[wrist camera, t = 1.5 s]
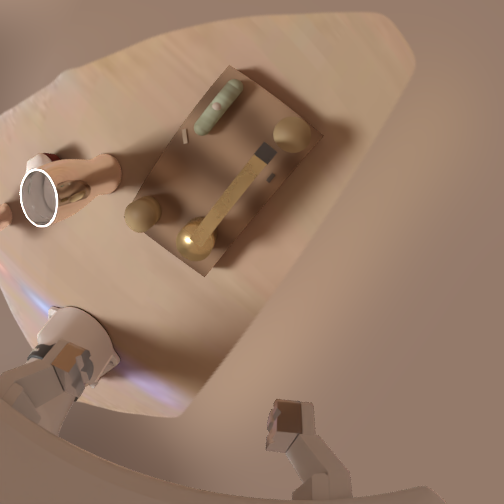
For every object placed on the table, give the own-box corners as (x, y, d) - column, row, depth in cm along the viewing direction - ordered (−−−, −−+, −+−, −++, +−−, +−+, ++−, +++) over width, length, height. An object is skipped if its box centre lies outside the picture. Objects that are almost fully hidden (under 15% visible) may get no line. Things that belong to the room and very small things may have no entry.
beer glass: (133, 170, 36) (68, 194, 22) (108, 205, 38) (46, 242, 25) (102, 141, 35) (32, 153, 21) (80, 177, 37) (12, 202, 23)
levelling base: (208, 267, 41) (200, 288, 36) (132, 211, 39) (113, 224, 33) (318, 135, 33) (328, 135, 28) (232, 70, 30) (225, 58, 25)
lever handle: (204, 255, 37) (195, 274, 32) (177, 236, 36) (164, 252, 31) (284, 157, 32) (288, 161, 27) (255, 133, 31) (253, 133, 26)
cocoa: (38, 165, 36) (-14, 180, 25) (53, 138, 34) (-1, 147, 23) (64, 204, 39) (13, 227, 28) (81, 178, 37) (26, 196, 26)
